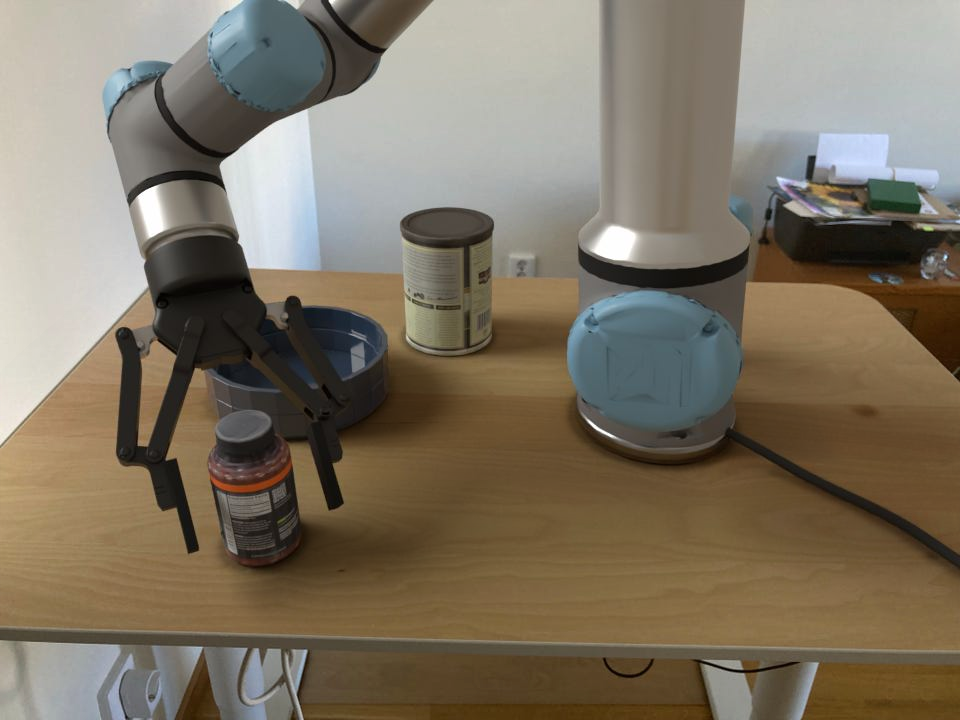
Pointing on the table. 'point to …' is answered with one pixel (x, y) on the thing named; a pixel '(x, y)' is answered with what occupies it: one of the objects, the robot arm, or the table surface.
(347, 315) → the bowl
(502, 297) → the table surface
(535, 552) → the table surface
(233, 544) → the supplement bottle
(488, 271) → the coffee can
